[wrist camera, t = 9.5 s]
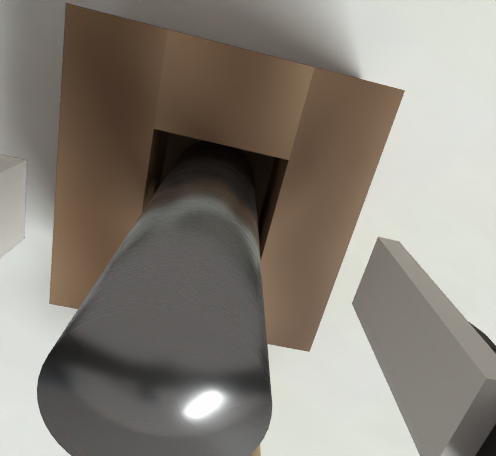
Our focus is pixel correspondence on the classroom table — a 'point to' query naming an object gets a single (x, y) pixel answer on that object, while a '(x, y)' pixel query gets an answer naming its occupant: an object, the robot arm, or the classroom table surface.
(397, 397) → the robot arm
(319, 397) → the classroom table surface
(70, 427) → the metal pin
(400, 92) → the socket block
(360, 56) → the classroom table surface
